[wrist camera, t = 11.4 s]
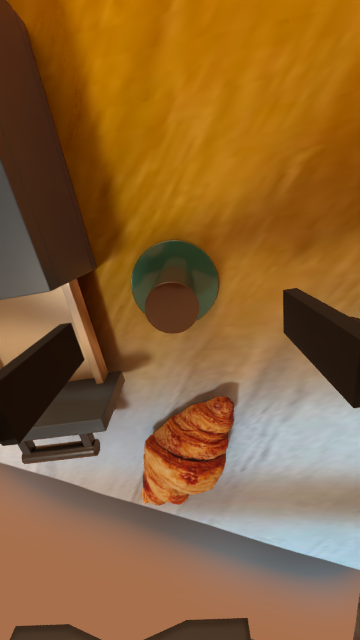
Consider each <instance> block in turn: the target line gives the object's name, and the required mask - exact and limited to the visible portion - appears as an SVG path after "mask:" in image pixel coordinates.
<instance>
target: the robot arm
mask: <svg viewBox="0 0 360 640" xmlns="http://www.w3.org/2000/svg"><path fill="white" fill-rule="evenodd" d="M283 314H284V333H285V334H286V336H287V337H288V338H289V339H290V340H291V341H292V342H293V343H294V344H295V345H296V346H297V347H298V349H299V350H300V351H301V352H302V353H303V354H304V355H305V356H306V357H307V358H308V359H309V360H310V362H311V363H312V364H313V365H314V366H315V367H316V368H317V369H318V370H319V371H320V372H321V373H322V375H323V376H324V377H325V378H326V379H327V380H328V381H329V382H330V383H331V384H332V385H333V386H334V388H335V389H336V390H337V391H338V392H339V393H340V394H341V395H342V396H343V397H344V398H345V399H346V401H347V402H348V403H349V404H350V405H351V406H352V407H353V408H359V407H360V319H359V318H355V317H349V316H347V315H345V314H343V313H341V312H339V311H338V310H336V309H334V308H332V307H330V306H328V305H327V304H325V303H323V302H321V301H319V300H318V299H316V298H314V297H312V296H310V295H308V294H307V293H305V292H303V291H301V290H299V289H298V288H294V289H287V290H283ZM84 360H85V359H84V356H83V354H82V351H81V348H80V345H79V343H78V340H77V337H76V334H75V332H74V329H73V326H72V323H65V324H59V325H58V326H57V327H56V328H54V329H53V330H52V331H50V332H49V333H48V334H46V335H45V336H44V337H42V338H41V339H40V340H38V341H37V342H36V343H34V344H33V345H32V346H30V347H29V348H28V349H26V350H25V351H24V352H23V353H21V354H20V355H19V356H17V357H16V358H15V359H13V360H12V361H11V362H9V363H8V364H7V365H5V366H4V367H3V368H1V369H0V443H1V444H2V446H6V445H15V444H20V443H21V441H22V440H23V439H24V438H25V436H26V435H27V434H28V432H29V431H30V430H31V429H32V427H33V426H34V425H35V423H36V422H37V421H38V420H39V418H40V417H41V416H42V414H43V413H44V412H45V411H46V409H47V408H48V407H49V405H50V404H51V403H52V401H53V400H54V399H55V398H56V396H57V395H58V394H59V392H60V391H61V390H62V389H63V387H64V386H65V385H66V383H67V382H68V381H69V380H70V378H71V377H72V376H73V374H74V373H75V372H76V371H77V369H78V368H79V367H80V365H81V364H82V363H83V361H84ZM10 640H101V639H99V638H97V637H94V636H92V635H90V634H88V633H86V632H84V631H82V630H80V629H77V628H75V627H73V626H71V625H69V624H65V625H36V626H16V627H15V629H14V632H13V634H12V636H11V638H10ZM145 640H253V639H251V638H250V631H249V625H248V618H237V619H236V618H234V619H205V620H186V621H184V622H182V623H180V624H177V625H175V626H173V627H171V628H169V629H167V630H164V631H162V632H160V633H158V634H155V635H153V636H151V637H149V638H147V639H145ZM353 640H360V597H359V603H358V611H357V618H356V625H355V632H354V638H353Z"/></svg>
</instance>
